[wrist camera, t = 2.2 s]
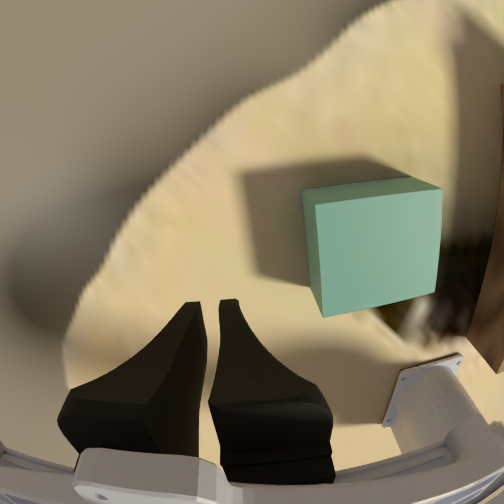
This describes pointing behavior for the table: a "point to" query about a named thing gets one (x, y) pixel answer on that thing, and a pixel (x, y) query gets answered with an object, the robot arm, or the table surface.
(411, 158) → the table surface
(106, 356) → the table surface
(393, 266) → the teal block
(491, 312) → the walnut board
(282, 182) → the table surface
